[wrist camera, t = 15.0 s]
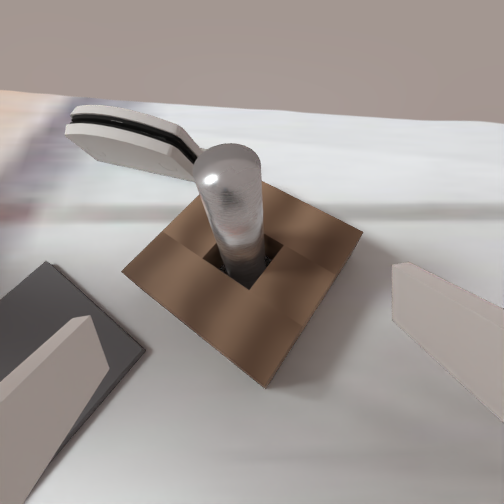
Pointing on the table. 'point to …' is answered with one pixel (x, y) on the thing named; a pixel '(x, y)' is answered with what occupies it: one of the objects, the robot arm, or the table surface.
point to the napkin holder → (133, 140)
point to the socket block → (237, 296)
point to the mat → (53, 319)
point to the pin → (234, 208)
